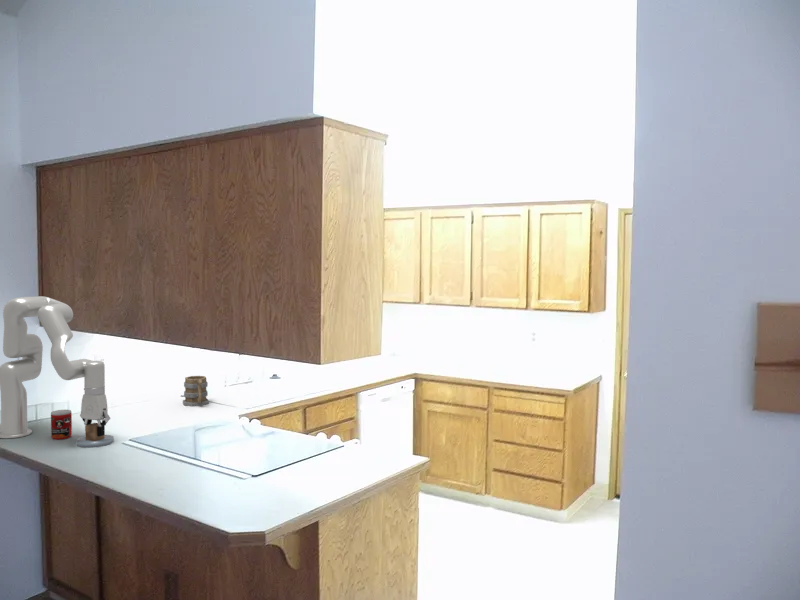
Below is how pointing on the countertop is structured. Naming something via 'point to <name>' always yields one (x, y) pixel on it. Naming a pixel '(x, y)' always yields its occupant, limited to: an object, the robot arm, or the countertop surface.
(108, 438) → the dish
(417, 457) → the countertop surface
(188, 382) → the tankard
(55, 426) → the canned food
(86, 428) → the walnut block
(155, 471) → the countertop surface
